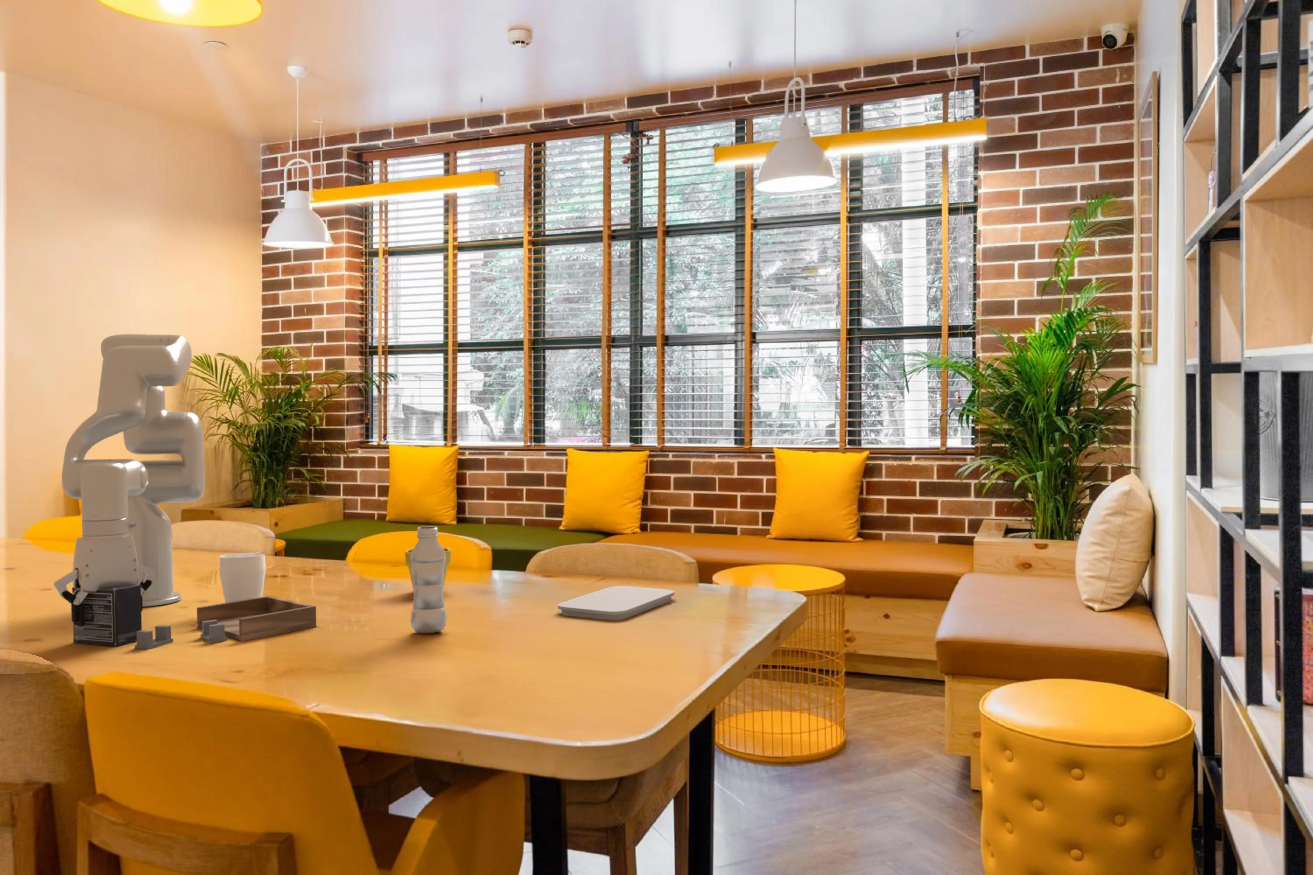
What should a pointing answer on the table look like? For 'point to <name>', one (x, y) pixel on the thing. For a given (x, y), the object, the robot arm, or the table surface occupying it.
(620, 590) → the tablet
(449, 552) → the plant pot
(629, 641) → the table surface
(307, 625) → the holder
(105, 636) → the small box
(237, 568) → the cup
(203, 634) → the clip
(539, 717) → the table surface
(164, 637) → the clip
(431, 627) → the plastic bottle
